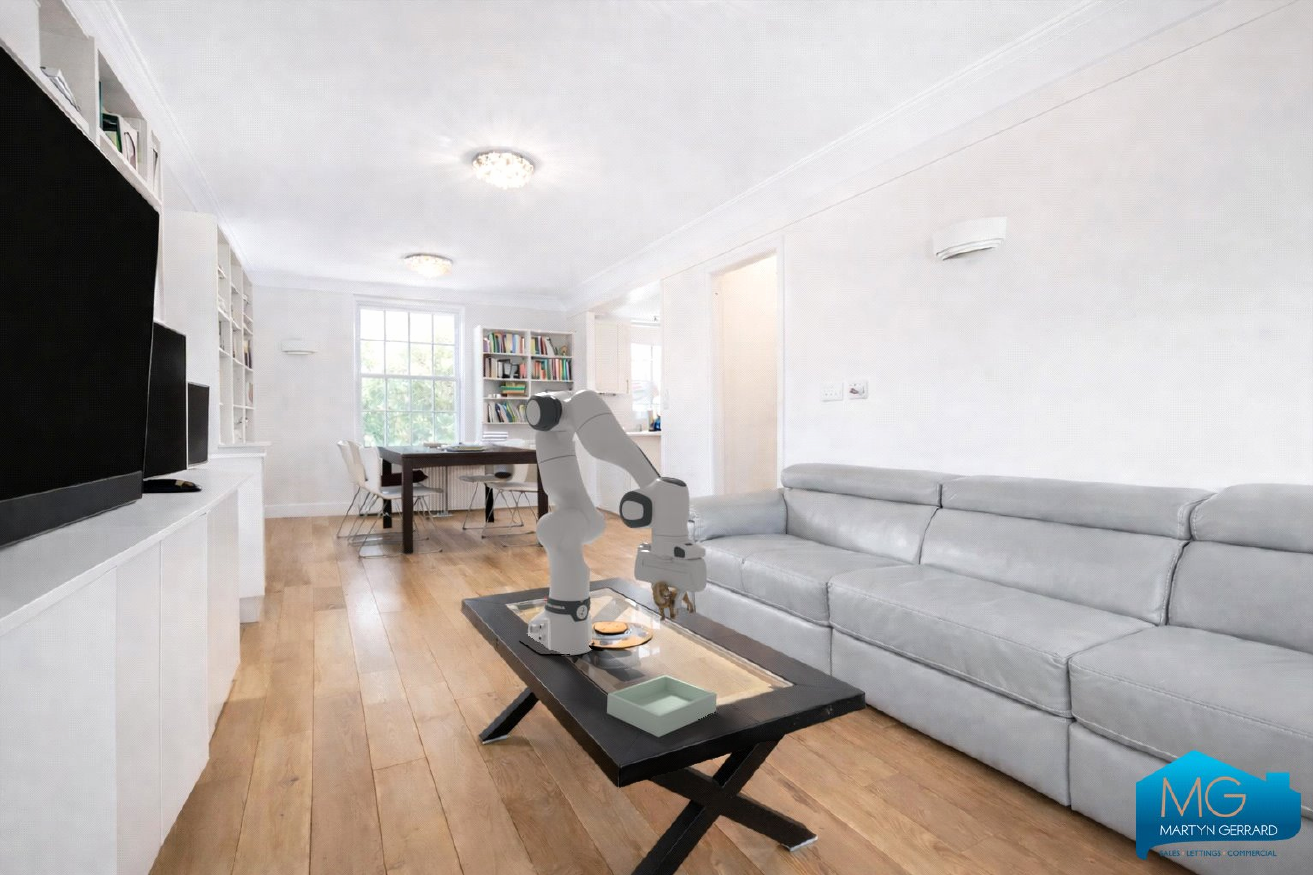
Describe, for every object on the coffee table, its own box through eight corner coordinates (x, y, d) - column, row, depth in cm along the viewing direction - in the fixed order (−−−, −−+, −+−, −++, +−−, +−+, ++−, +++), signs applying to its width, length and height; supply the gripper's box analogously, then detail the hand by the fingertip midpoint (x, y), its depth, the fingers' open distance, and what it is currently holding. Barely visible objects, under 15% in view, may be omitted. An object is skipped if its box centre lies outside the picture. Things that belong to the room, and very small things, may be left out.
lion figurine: (672, 621, 142) (665, 581, 144) (651, 623, 145) (645, 583, 146) (698, 611, 155) (692, 574, 157) (679, 613, 158) (673, 577, 159)
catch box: (606, 713, 133) (607, 693, 134) (664, 692, 146) (665, 674, 147) (658, 737, 123) (659, 716, 123) (715, 712, 136) (716, 693, 136)
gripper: (629, 542, 154) (627, 599, 154) (693, 552, 141) (691, 615, 140) (647, 540, 159) (645, 595, 159) (711, 550, 145) (709, 611, 145)
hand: (667, 605), depth 149 cm, fingers closed on lion figurine, 4 cm apart
